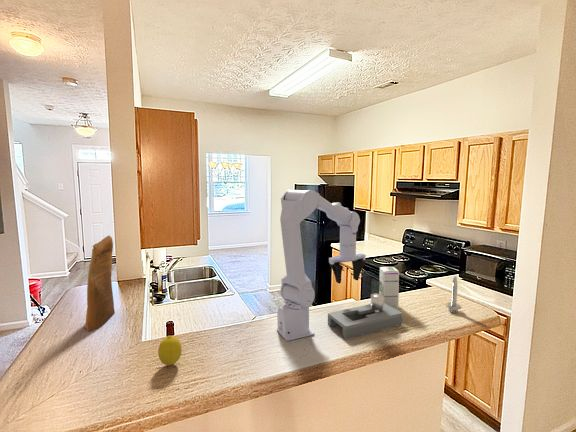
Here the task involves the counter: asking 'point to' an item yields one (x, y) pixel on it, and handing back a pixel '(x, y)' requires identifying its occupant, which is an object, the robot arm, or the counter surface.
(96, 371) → the counter surface
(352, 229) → the robot arm
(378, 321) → the keyhole plate
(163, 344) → the lemon
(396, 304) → the syrup box
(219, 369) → the counter surface
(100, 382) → the counter surface
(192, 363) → the counter surface
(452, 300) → the screw
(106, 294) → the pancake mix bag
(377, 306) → the steel peg
